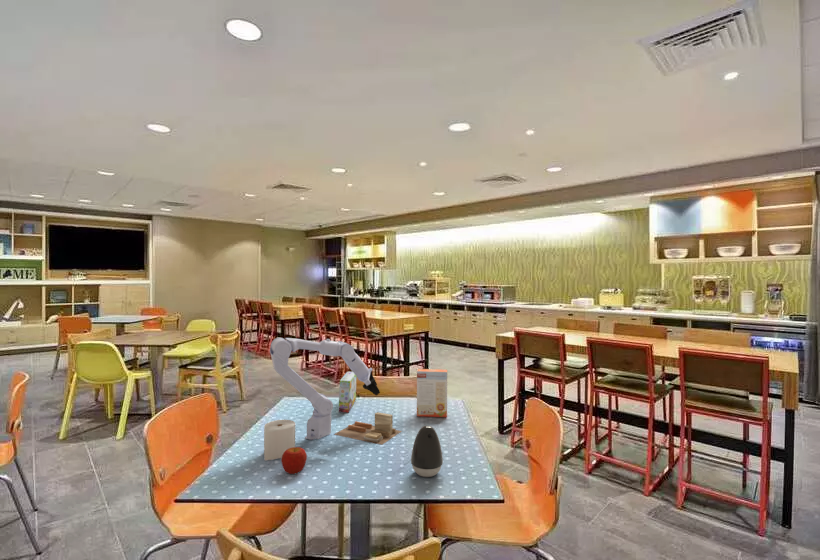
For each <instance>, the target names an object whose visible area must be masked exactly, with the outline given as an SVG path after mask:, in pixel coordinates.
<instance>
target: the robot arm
mask: <svg viewBox="0 0 820 560" xmlns="http://www.w3.org/2000/svg"><path fill="white" fill-rule="evenodd" d="M270 343H271V344H270V345H269V346H270V347H269V354H270V356H271V361H272V367H273V370H274V371H275V373H277V374H278V375H280V376H281V377H282V378H283V379H284V380H285V381H286V382H288V384H289V385H291V386H292V387H293V388H294V389H295V390H297V391H298V392H299V393H300V394H301V395H302V397H304V398H306V399H307V401H308V402H310V403H311V406H312V408H313V410H312V415H311V417H309V419H307V422H306V436H305V437H304V438H305V439H306V440H310V441H313V440H315V439H317V440H320V439H321V438H324V437H327V436H329V435H330V434H332V411H333V409H334V404H333V402H332V400H330V399H329V398H328V397H327V396H326V395H325V394H324V393H319V392H318V391H317V390H316V389H315V388H314V387H312V386H311V385H310V384H309V383H308V382H307V381H306V380H305V379H303V377H301V376H300V375H299V374H298V373H297V372H296V371H295V370H294V369H293V368H291V366H289V358H290V356H291V353H296V351H298V350H307V351H308V350H309V351H317V352H319V354H320V355H321V356H322V355H324V356H330V357H331V356H332V357H341V358H342V359H343V361H344V362H345V364H346V366H348V367H349V369H350V370H351V372H353V373H354V374H355V375H356V376H357V379H358V381H360V382H362V383H363V385H362V388H363V389H364V390H367V391H369V392H370V393H372V394H373V395H375V396H378V395H379V394H381V391H380V389H379V387H378V384H377V381H376V379H375V377H374V376H373V368H372V367H369V368H368V366H367V365H366V364H365V362H364V361H363V360H362V359H361V357H360V356H359V355H358V354H357V353H356V352H355V349H354V346H353V345H351V344H350V343H347V342H343V341H340V340H338V341H334V340H331V339H330V338H326V339H323V340H320V341H313V340H306V339H301V338H296V337H295V338H292V337H285V338H283V337H276V338H274V339H273V340H272V341H271V342H270Z"/></svg>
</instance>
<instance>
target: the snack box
mask: <svg viewBox="0 0 820 560" xmlns="http://www.w3.org/2000/svg"><path fill="white" fill-rule="evenodd" d="M357 379H358V377H357V376H356V375H355V374H354V373H353V371H346V372H345V374H344V375H343V376H342V378H340V380H339V387H338V388H339V391H338V413H345V412H346V414H347V413H350V411H351V409H352V408H353V406H354V404H355V403H356V401H357ZM355 400H356V401H355ZM354 402H355V403H354Z"/></svg>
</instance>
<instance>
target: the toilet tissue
mask: <svg viewBox="0 0 820 560" xmlns="http://www.w3.org/2000/svg"><path fill="white" fill-rule="evenodd" d="M263 435H264V436H263V437H264V438H263V448H264V449H263V455H264V456H263V457H264V461H265V462H266V461H273V460H276V459H278V460H279V459H281V458H282V455H283V453H284V452H285V451H286V450H287V449H289V448H293V447H296V422H295V421H294V420H291V419H276V420H272V421H269V422H267V423H265V424H264V426H263Z"/></svg>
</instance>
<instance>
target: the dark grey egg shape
mask: <svg viewBox="0 0 820 560" xmlns="http://www.w3.org/2000/svg"><path fill="white" fill-rule="evenodd" d="M412 445H413V446H412V449H411V454H410V463H411V465H412V469H413V471H414V472H415V473H416V474H417V475H418V476H420V477H423V478H432V477H434V476H437V474H438V473H439V472H440V471H441V468H442V466H443V463H444V462H443V461H444V459H443V451H442V445H441V441H440V439H439V436H438V434H437V431H436V430H435V428H434V427H433V426H431V425H424V426H422V427H421V428H420V429H419V430H418V431H417V433H416V436H415V439H414V442H413V444H412Z"/></svg>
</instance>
